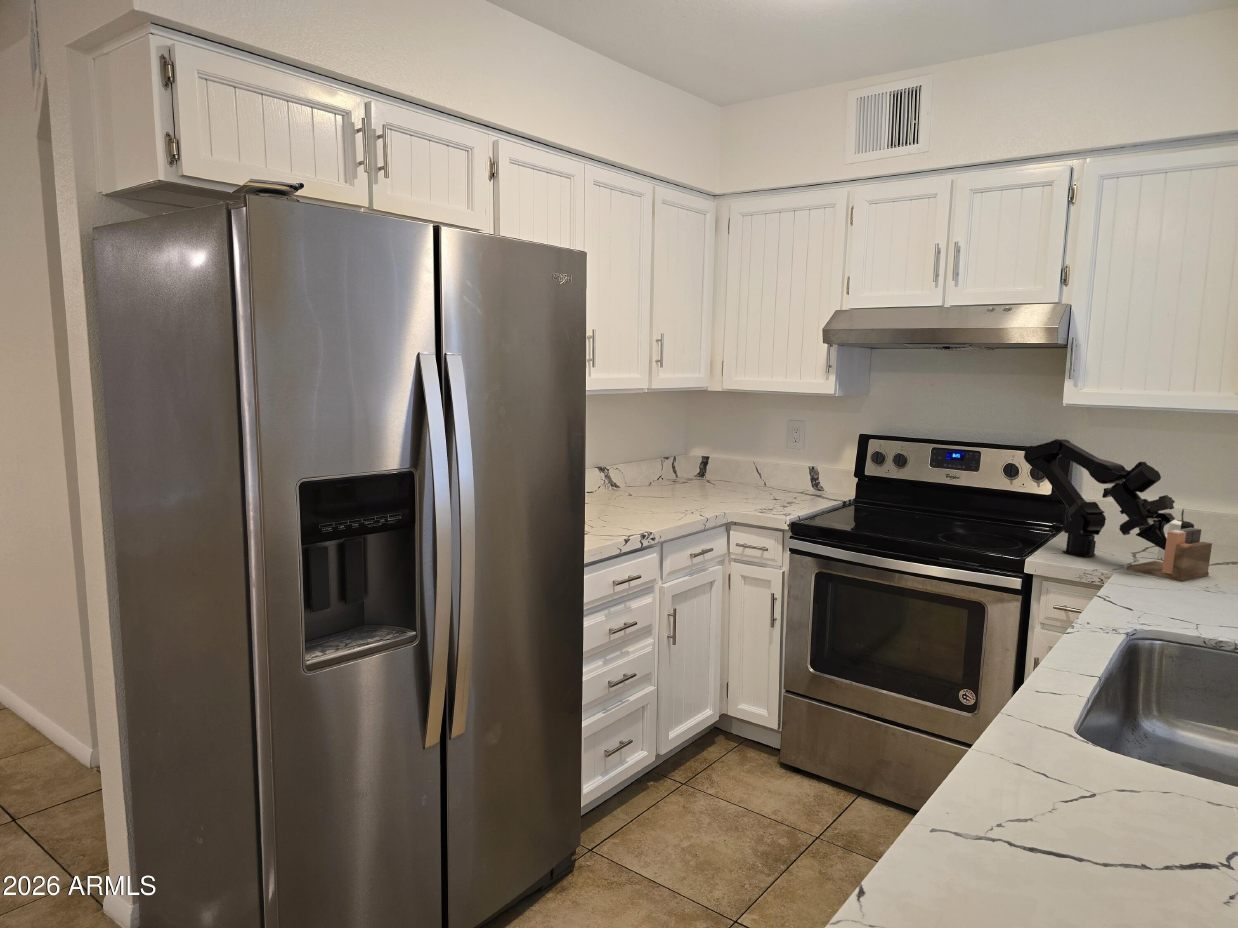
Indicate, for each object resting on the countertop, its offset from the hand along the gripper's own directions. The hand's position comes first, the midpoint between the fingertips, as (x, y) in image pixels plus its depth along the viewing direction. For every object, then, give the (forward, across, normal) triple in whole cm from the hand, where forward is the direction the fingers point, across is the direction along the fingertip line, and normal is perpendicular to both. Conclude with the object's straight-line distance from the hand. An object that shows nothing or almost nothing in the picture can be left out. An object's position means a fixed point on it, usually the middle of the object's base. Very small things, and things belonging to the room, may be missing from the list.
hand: (1168, 549), depth 217 cm
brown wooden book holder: (+4, +5, +6) cm, 9 cm away
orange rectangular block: (+5, 0, +3) cm, 6 cm away
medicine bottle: (0, +24, +10) cm, 26 cm away
